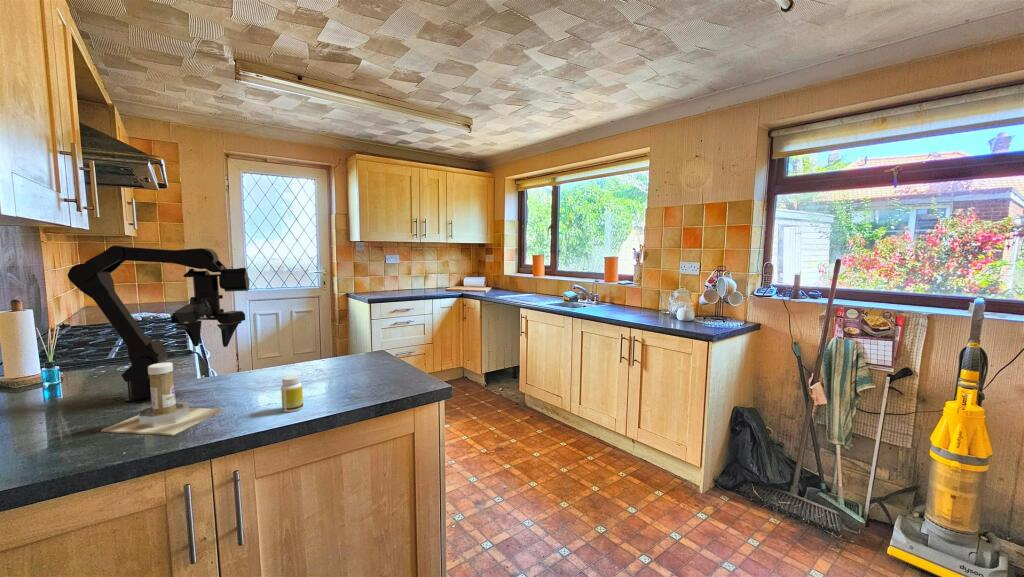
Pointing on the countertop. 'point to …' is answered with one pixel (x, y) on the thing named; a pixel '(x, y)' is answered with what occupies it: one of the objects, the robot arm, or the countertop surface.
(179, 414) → the socket collar
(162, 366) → the sprinkles bottle
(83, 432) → the countertop surface
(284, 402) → the supplement bottle
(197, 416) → the dock plate
